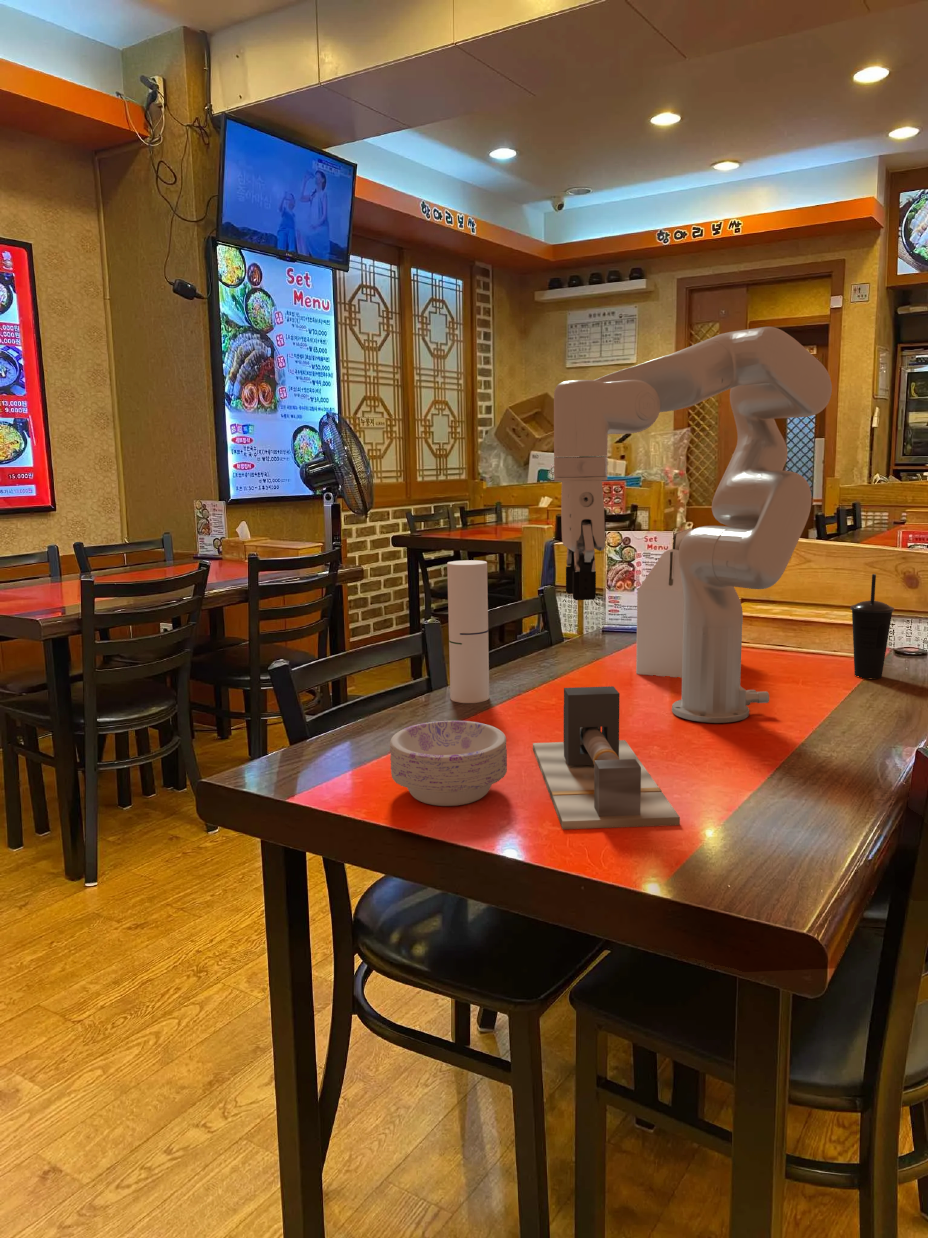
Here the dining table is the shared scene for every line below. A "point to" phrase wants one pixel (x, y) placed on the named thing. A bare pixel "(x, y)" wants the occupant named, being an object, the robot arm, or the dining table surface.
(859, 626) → the drinking cup
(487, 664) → the cylindrical container
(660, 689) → the dining table surface
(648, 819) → the pipe rig
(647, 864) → the dining table surface
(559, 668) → the dining table surface
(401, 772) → the paper bowls
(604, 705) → the collar
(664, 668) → the gable box
